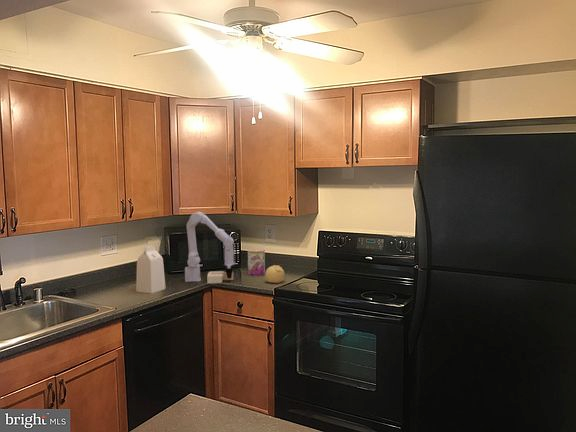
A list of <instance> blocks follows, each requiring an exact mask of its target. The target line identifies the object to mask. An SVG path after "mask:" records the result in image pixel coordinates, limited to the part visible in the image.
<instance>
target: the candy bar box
mask: <svg viewBox="0 0 576 432" xmlns="http://www.w3.org/2000/svg"><path fill="white" fill-rule="evenodd" d="M265 252H266V251H265V249H248V250H247V275H248V276H264V275H265V273H266V268H265V267H266V258H265V256H266V253H265Z"/></svg>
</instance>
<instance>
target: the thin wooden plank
mask: <svg viewBox="0 0 576 432" xmlns="http://www.w3.org/2000/svg"><path fill="white" fill-rule="evenodd" d="M212 272H213V273H211V274H223V277H222V281H234V278H235V277H234V271H232V276H231V278H229V279H228V277H227V273H226V271H224V272H216V271H212Z"/></svg>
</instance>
